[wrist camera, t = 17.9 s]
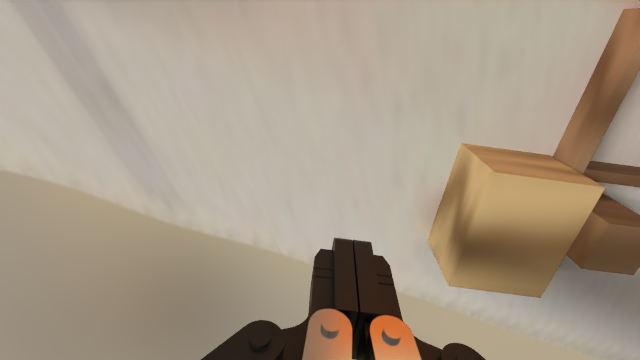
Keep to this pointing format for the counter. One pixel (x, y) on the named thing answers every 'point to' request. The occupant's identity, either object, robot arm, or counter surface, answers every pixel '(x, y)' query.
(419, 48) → the counter surface
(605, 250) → the post
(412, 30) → the counter surface
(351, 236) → the counter surface
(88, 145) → the counter surface
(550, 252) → the natural wood cube
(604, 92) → the frame
